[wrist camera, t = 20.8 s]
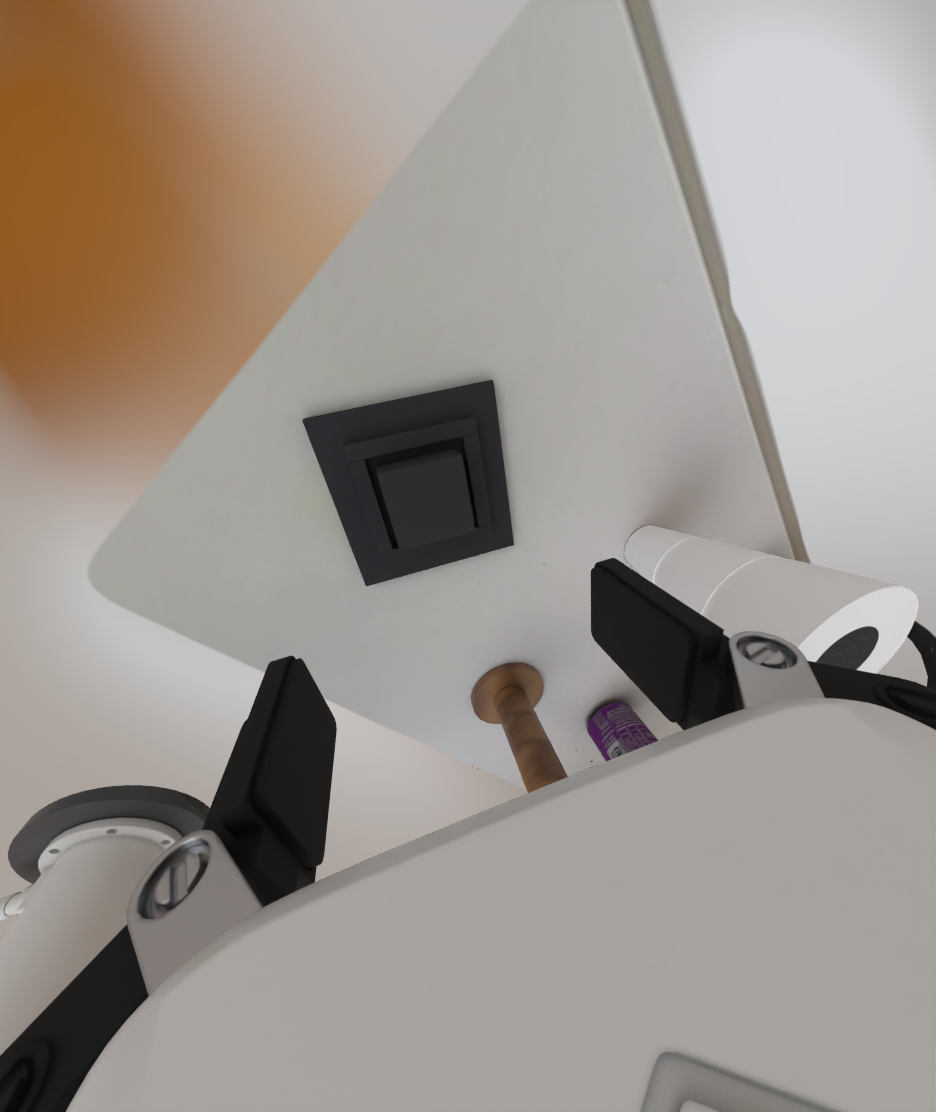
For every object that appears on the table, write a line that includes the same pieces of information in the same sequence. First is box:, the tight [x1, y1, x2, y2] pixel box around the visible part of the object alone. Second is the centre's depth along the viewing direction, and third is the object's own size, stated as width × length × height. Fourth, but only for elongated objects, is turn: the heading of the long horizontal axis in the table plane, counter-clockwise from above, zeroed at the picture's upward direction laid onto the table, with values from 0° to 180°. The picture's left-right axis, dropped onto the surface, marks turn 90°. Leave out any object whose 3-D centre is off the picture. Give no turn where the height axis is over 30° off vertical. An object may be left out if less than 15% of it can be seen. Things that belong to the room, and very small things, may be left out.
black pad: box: [377, 448, 475, 551], centre depth 26 cm, size 6×6×4 cm
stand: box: [471, 663, 568, 793], centre depth 35 cm, size 9×9×16 cm
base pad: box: [303, 380, 514, 586], centre depth 27 cm, size 14×14×2 cm
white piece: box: [624, 525, 918, 674], centre depth 29 cm, size 11×11×18 cm
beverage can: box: [587, 702, 658, 761], centre depth 44 cm, size 7×7×12 cm
